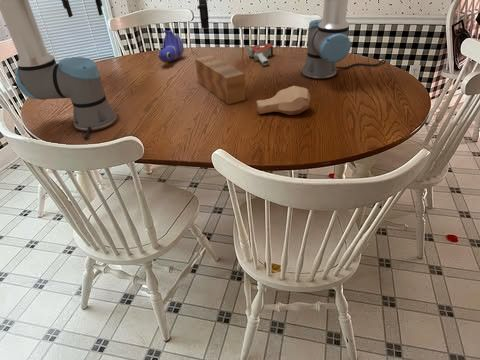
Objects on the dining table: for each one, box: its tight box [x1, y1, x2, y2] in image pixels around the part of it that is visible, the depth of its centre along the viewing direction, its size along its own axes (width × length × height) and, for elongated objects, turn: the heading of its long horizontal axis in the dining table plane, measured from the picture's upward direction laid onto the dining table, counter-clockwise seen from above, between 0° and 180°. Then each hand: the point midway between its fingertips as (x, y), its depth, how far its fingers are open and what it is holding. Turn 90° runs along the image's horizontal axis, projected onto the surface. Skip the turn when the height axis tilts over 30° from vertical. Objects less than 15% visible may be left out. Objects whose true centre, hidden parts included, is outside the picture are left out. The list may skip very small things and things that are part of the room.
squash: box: [255, 85, 312, 116], centre depth 130 cm, size 11×20×9 cm, turn 92°
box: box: [194, 54, 246, 105], centre depth 149 cm, size 30×8×11 cm, turn 29°
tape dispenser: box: [247, 43, 274, 67], centre depth 182 cm, size 18×5×20 cm
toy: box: [157, 30, 185, 67], centre depth 184 cm, size 10×17×25 cm
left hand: (86, 15), depth 157 cm, fingers open, 13 cm apart
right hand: (205, 23), depth 133 cm, fingers open, 13 cm apart
